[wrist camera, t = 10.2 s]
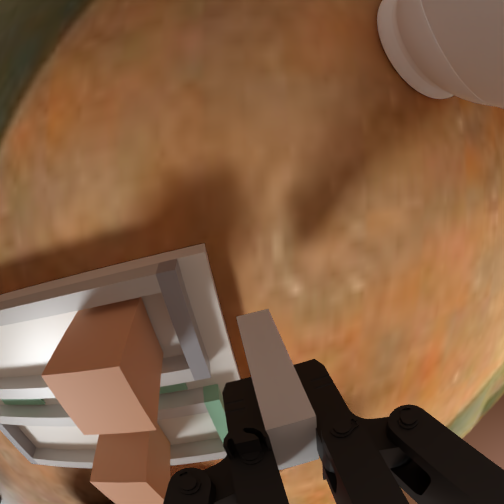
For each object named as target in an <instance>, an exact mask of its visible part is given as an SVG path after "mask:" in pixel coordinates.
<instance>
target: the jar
mask: <svg viewBox="0 0 504 504" xmlns="http://www.w3.org/2000/svg"><path fill="white" fill-rule="evenodd" d="M377 27H378V33H379V37H380V40H381V43H382V46H383V48H384V51H385V53H386V55H387V57H388V59H389V60H390V62H391V64H392V65H393V67H394V68H395V69H396V71H397V72H398V73H399V75H400V76H401V77H402V78H403V79H404V80H405V81H406V82H407V83H408V84H409V85H410V86H411V87H412V88H414V89H415V90H416V91H418V92H420V93H421V94H423V95H425V96H428V97H431V98H434V99H446V98H449V97H452V96H453V95H454V96H457V97H459V98H461V99H464V100H467V101H470V102H474V103H478V104H482V105H488V106H496V107H499V108H502V109H504V0H382V2H381V4H380V6H379V9H378V13H377Z"/></svg>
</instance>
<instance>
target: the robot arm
mask: <svg viewBox="0 0 504 504" xmlns="http://www.w3.org/2000/svg"><path fill="white" fill-rule="evenodd" d="M236 318H237V322H238V326H239V330H240V335H241V339H242V343H243V346H244V350H245V354H246V358H247V362H248V366H249V370H250V374H251V377H249V378H245V379H241V380H236V381H232V382H227V383H226V384H225V387H224V389H223V392H222V396H223V403H224V409H225V416H226V423H227V429H228V433H227V435H226V436H225V438H224V441H223V447H224V449H225V451H226V453H227V455H226V457H225V458H224V459H223V460H222V461H221V462H219V463H218V464H216V465H214V466H212V467H209V468H207V469H205V470H203V471H202V470H201V469H197V468H185V469H182V470H180V471H178V472H176V473H175V474H174V475H173V476H172V477H171V479H170V481H169V484H168V487H167V491H166V495H165V498H164V502H163V504H289V502H288V499H287V496H286V492H285V489H284V486H283V483H282V479H281V476H280V473H279V470H282V469H285V468H289V467H293V466H296V465H300V464H303V463H307V462H310V461H313V460H316V459H319V456H320V459H321V461H322V464H323V480H325V479H327V482H328V484H329V487H330V489H331V492H332V494H333V496H334V499H335V501H336V504H409V502H408V501H407V499H406V497H405V496H404V494H403V492H402V490H401V488H402V489H403V490H404V491H405V492H406V493H407V494H409V495H410V497H411V498H413V499H414V500H415V501H416V502H417V503H418V504H504V470H503V469H501V468H500V467H499V466H497V465H496V464H495V463H493V462H492V461H491V460H489V459H488V458H486V457H485V456H484V455H483V454H481V453H480V452H479V451H477V450H476V449H475V448H473V447H472V446H471V445H469V444H468V443H466V442H465V441H464V440H463V439H461V438H460V437H459V436H457V435H456V434H455V433H453V432H452V431H451V430H449V429H448V428H447V427H445V426H444V425H443V424H442V423H440V422H439V421H438V420H436V419H435V418H434V417H432V416H431V415H430V414H428V413H427V412H426V411H425V410H423V409H422V408H420V407H418V406H415V405H403V406H400V407H398V408H396V409H394V411H393V412H392V413H391V414H390V416H389V417H384V418H377V419H364V418H360V417H358V416H356V415H354V414H353V413H352V412H351V411H350V410H349V409H348V407H347V405H346V403H345V402H344V400H343V398H342V396H341V394H340V393H339V391H338V389H337V387H336V386H335V384H334V383H333V380H332V379H331V377H330V376H329V373H328V372H327V370H326V368H325V366H324V365H323V364H321V363H320V362H318V361H317V360H315V359H312V360H309V361H306V362H302V363H299V364H295V365H293V363H292V361H291V359H290V357H289V354H288V352H287V350H286V348H285V345H284V343H283V341H282V339H281V336H280V334H279V332H278V330H277V327H276V325H275V323H274V321H273V318H272V316H271V314H270V312H269V309H265V310H261V311H257V312H253V313H249V314H245V315H241V316H237V317H236ZM318 454H319V455H318ZM399 486H400V487H401V488H400V487H399ZM0 503H1V499H0Z"/></svg>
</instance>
